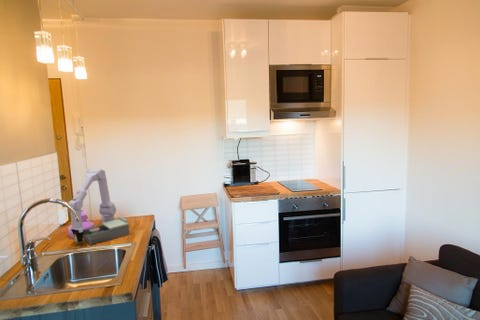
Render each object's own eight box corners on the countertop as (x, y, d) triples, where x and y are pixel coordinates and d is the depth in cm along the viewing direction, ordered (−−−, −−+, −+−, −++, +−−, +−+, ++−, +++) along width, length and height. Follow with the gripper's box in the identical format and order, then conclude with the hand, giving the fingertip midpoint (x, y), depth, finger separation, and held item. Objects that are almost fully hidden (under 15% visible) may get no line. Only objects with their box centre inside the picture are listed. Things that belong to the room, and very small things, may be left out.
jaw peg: (74, 243, 189) (73, 234, 188) (81, 241, 191) (80, 232, 190) (76, 245, 186) (75, 235, 185) (83, 243, 188) (82, 233, 188)
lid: (102, 224, 202) (101, 220, 202) (120, 220, 210) (119, 215, 210) (110, 229, 192) (109, 224, 192) (128, 224, 200) (128, 220, 200)
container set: (94, 236, 200) (92, 216, 198) (68, 240, 194) (66, 220, 192) (95, 224, 222) (93, 207, 221) (71, 228, 216) (69, 210, 214)
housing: (83, 239, 195) (82, 229, 194) (120, 229, 211) (120, 220, 210) (90, 245, 185) (89, 235, 184) (129, 234, 201) (128, 225, 200)
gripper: (65, 218, 189) (68, 239, 191) (72, 223, 179) (75, 246, 180) (78, 215, 194) (80, 236, 196) (85, 220, 183) (88, 242, 185)
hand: (78, 240), depth 188 cm, fingers closed on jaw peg, 4 cm apart
